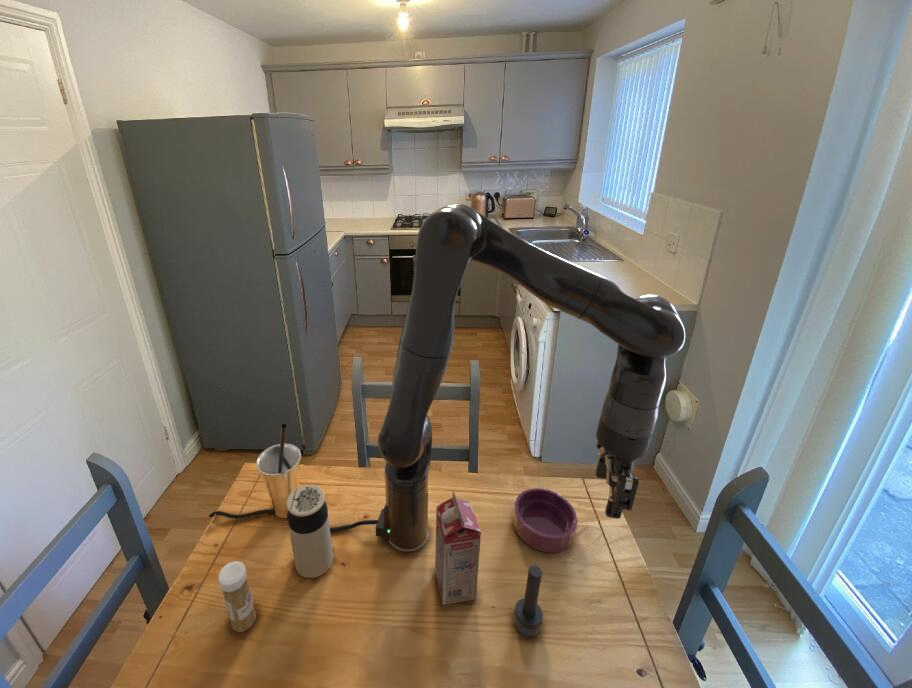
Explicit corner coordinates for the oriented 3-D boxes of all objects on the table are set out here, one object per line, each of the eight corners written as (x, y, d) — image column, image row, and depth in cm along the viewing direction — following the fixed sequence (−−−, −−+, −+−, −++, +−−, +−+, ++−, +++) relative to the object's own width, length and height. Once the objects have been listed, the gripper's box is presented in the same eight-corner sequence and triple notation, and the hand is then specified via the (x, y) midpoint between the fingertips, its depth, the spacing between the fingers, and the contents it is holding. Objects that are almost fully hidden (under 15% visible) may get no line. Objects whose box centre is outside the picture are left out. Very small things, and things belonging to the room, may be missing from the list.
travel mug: (337, 546, 93) (330, 485, 86) (326, 581, 86) (318, 518, 79) (303, 541, 94) (294, 481, 87) (289, 576, 87) (278, 513, 80)
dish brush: (513, 634, 76) (521, 581, 71) (513, 607, 81) (520, 555, 75) (541, 641, 75) (551, 587, 70) (539, 613, 80) (549, 561, 74)
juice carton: (442, 604, 81) (445, 523, 73) (435, 571, 87) (436, 493, 79) (475, 599, 82) (482, 518, 74) (465, 566, 88) (470, 488, 80)
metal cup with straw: (301, 531, 97) (284, 426, 85) (256, 523, 99) (234, 420, 87) (318, 494, 107) (306, 395, 95) (277, 487, 109) (260, 390, 97)
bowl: (512, 547, 92) (514, 531, 90) (513, 498, 104) (514, 483, 102) (577, 560, 89) (581, 544, 87) (570, 509, 101) (573, 493, 99)
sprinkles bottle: (255, 629, 78) (243, 581, 73) (229, 636, 77) (215, 588, 72) (257, 604, 82) (246, 557, 77) (232, 610, 81) (220, 563, 76)
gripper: (593, 390, 73) (577, 462, 80) (611, 446, 60) (590, 526, 67) (640, 396, 71) (620, 469, 78) (668, 455, 59) (642, 536, 65)
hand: (606, 495), depth 72 cm, fingers open, 8 cm apart
